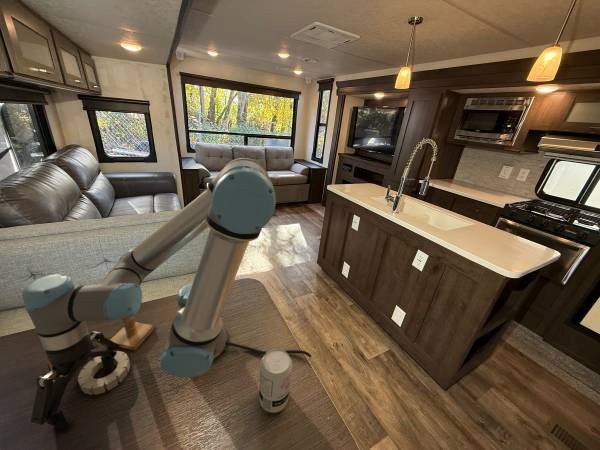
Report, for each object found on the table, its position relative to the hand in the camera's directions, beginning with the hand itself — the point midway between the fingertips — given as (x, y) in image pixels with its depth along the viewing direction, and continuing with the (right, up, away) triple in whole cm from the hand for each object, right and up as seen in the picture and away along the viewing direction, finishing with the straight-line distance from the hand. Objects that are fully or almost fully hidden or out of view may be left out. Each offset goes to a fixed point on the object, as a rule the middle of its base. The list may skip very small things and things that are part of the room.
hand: (89, 397), depth 64 cm
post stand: (-1, +8, +18) cm, 20 cm away
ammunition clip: (-12, +5, +9) cm, 15 cm away
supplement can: (+48, -3, +4) cm, 48 cm away
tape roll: (0, +3, +6) cm, 6 cm away
